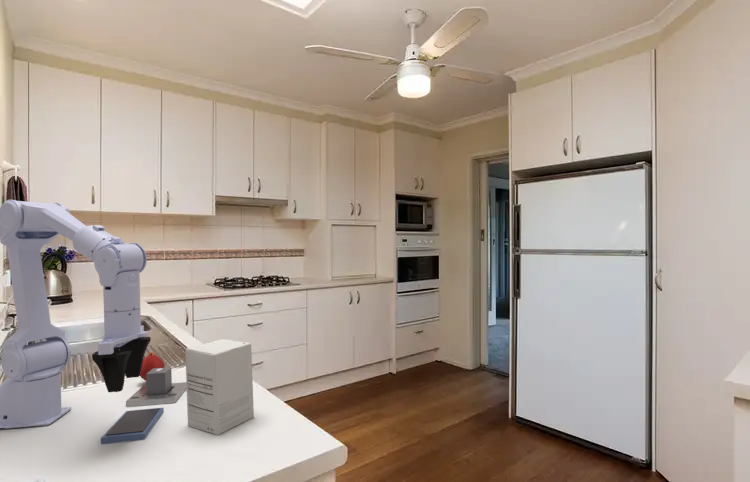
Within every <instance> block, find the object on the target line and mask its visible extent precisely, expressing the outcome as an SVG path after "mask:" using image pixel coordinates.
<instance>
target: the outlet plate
mask: <svg viewBox="0 0 750 482" xmlns="http://www.w3.org/2000/svg"><path fill="white" fill-rule="evenodd" d="M185 391H187V383H186V381H183V382H172V390H171V391H170V392H169V393H168V394H167V395H154V396H147V385H142V386H141V387H140V388H139V389H138V390H136V391H135V393H133V394H132V396H130V397H129V398H128V399H127V400H125V407H126V408H127V407H140V406H151V405H154V406H155V405H165V404H166V405H167V404H176V403H177V401H178V400H179V399H180V398H181V397H182V395H183V394H184V393H185Z"/></svg>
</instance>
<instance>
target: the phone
mask: <svg viewBox="0 0 750 482" xmlns="http://www.w3.org/2000/svg"><path fill="white" fill-rule="evenodd" d="M164 408H165V407H154V408H145V409H133V410H132V409H131V410H126V411H124V413H123V414H122V415H121V416H119V418H118V419H117V420H116V421H115V422H114V424H113V425H111V426H110V427H109V428H108V430H107V431H106V432H105V433H104V434H103V435H102V436H101V437H100V444H101V445H107V444H115V443H116V444H117V443H126V442H133V441H134V442H135V441H143V440H144V441H145V439H146V438H147V437H148V435H149V434H150V432H152V429H154V427H155V425H156V424H157V423H158V421H159V419H160V418H161V417H162V415H163V414H164Z"/></svg>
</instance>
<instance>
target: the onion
mask: <svg viewBox="0 0 750 482" xmlns="http://www.w3.org/2000/svg"><path fill="white" fill-rule="evenodd" d="M153 368H166V367H165V363H164V361H163V359H162V358H161V357H159V355H156V354H155V353H154V351H150V352H149V354H148V355H146V356H144V358H143V362H142V367H141V372H140V375H139V377H140V378H141V379H142V380H144V381H145V382H146V374H147V373H148V372H149V371H151V370H152V369H153Z"/></svg>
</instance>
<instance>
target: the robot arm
mask: <svg viewBox="0 0 750 482" xmlns="http://www.w3.org/2000/svg"><path fill="white" fill-rule="evenodd" d="M105 229H106V227H105V226H103V225H101V224H100V225H99V224H97V225H96V224H93V225H85V224H84V223H83V222H82V221H80V220H79V219H77V217H75V216H73V215H72V213H70V208H69V207H68V206H66V205H64V204H62V203H60V202H53V203H51V202H39V201H24V200H23V201H22V200H16V199H7V200H5V201H4V202H3V203H2V204H1V205H0V244H2V245H4V246H5V247H6V252H7V259H8V265H9V272H10V280H11V287H12V294H13V295H12V296H13V300H14V308H15V314H16V315H15V316H16V320H17V321H16V322H17V327H18V328H17V330H16V331H15V332H14V333H13V334H12V335H11V336H10V337H8V338H7V339H6V340H5V341H4V342H2V350H3V351H2V358H1V369H2V371H3V373H4V375H5V376H6V377H7V378H5V380H3V382H1V385H0V428H6V429H15V428H16V429H17V428H29V427H41V426H49V425H51V424H52V423H54V422H56V420H58V419H59V418H60V417H62V416H63V415H65V414H66V413H68V412H69V411H70V410H72V407H71V406H66V407H65V406H64V407H62V380H61V379H62V378H61V375H62V374H61V372H64V371H65V366H67V365H68V364H69V362H70V359H71V356H72V348H71V345H70V344H69V342H68V340H67V337H66V332H65V330H63V329H61V328H59V327H57V326H55V325H54V324H52V321H51V316H50V315H51V314H50V310H49V302H48V296H47V294H48V293H47V289H46V282H45V281H46V280H45V275H44V266H43V260H42V255H41V253H42V252H41V250H42V248H43V247H44V246H45V245H48V244H50V243H52V242H54V240H55V239H56V238H57V237H58V236H60V235H61V236H63V237H64V238H67V239H68V240H70V241H72V247H73V249H74V250H75V251H76V252H78V253H79V254H80V255H82V256H83V257H85V258H87V259H88V260H90V261H91V262H93V264H94V268H95V270H96V273H97V274H98V279H99V284H100V286H102V288H103V289H102V290H103V291H102V292H103V322H104V325H103V327H104V332H103V333H104V335H103V336H102V338H101V341H100V342H99V343H98V347H97V349H98V351H95V352H93V353H92V354H91V360H92V361H93V362H94V363H95V365H96V366H97V367H98V369H99V371H100V373H101V376H102V378H103V381H104V385H105V387H106V389H107V392H108V393H117V392H122V391H123V389H124V385H125V378H126V379H131V378H132V379H133V378H139V377H140V372H141V367H142V362H143V359H144V358H145V354H146V351H147V349H148V346H149V345H150V342H151V339H152V338H151V336H148V335H149V331H148V330H147V331H146V330H145V325H142V321H141V320H142V318H141V316H142V315H141V313H142V312H141V285H140V284H141V282H140V278H141V277H140V273H142V272H143V271H144V269H145V268H146V265H147V262H148V261H147V260H148V259H147V253H146V251H145V249H144V248H143V246H141V244H139V243H138V242H129V243H125V242H124V241H122V238H121V237H119V236H114V235H113V234H111V233H109V232H107V231H106V230H105ZM38 340H41V341H38ZM42 340H43V341H42ZM34 341H38V342H34ZM31 342H34V343H31ZM27 343H29V344H27Z"/></svg>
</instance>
